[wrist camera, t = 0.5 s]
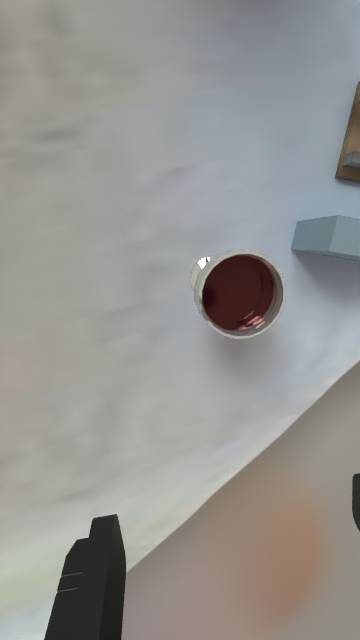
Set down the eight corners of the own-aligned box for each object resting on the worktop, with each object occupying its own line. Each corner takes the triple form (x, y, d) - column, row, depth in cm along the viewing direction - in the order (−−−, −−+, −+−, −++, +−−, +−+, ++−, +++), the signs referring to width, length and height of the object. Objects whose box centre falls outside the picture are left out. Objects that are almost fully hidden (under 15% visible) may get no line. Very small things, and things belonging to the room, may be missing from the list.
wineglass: (238, 241, 36) (281, 241, 24) (247, 302, 37) (291, 329, 26) (176, 254, 35) (190, 259, 24) (188, 314, 37) (206, 347, 25)
